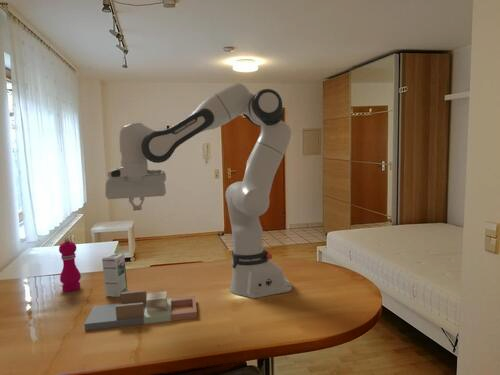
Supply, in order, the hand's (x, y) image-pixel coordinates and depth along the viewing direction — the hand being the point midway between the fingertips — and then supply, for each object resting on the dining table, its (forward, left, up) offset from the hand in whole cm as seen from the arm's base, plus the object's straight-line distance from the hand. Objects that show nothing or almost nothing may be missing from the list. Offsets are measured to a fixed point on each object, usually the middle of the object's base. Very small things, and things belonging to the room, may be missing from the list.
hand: (137, 210), depth 140 cm
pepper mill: (+28, -14, -31) cm, 44 cm away
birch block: (-6, +17, -29) cm, 34 cm away
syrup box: (+10, -4, -31) cm, 33 cm away
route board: (-2, +17, -31) cm, 35 cm away
